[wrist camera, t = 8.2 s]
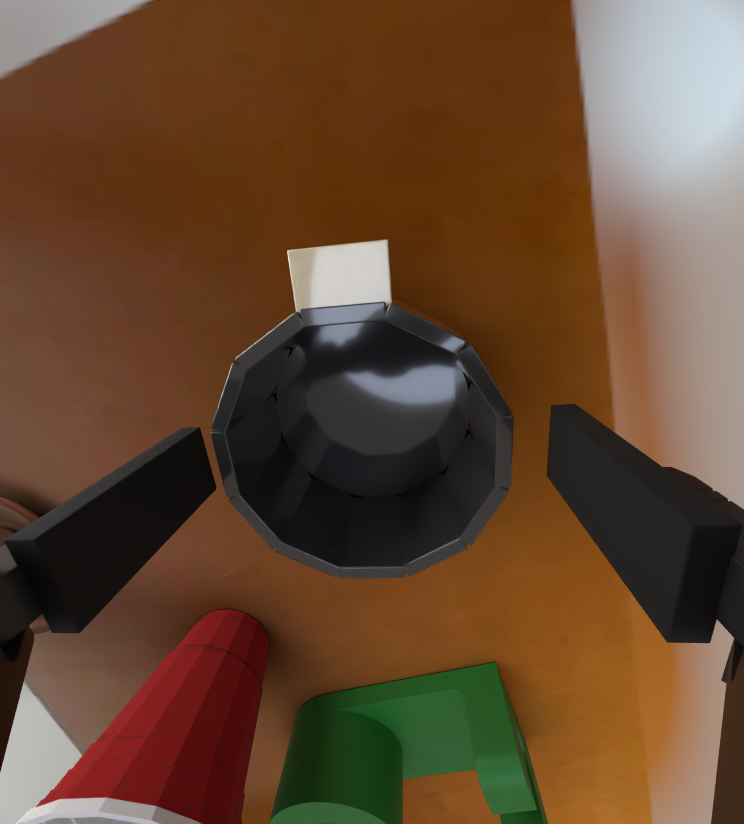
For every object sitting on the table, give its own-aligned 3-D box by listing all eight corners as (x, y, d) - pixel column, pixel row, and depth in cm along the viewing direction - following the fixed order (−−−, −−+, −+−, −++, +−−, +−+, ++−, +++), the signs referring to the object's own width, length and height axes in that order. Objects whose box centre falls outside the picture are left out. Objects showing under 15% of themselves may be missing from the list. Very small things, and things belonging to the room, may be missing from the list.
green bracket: (321, 771, 32) (301, 884, 26) (277, 703, 29) (244, 810, 23) (525, 741, 28) (559, 864, 22) (495, 662, 26) (523, 775, 20)
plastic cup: (241, 706, 30) (143, 960, 19) (139, 627, 28) (-41, 859, 16) (334, 650, 27) (286, 913, 16) (229, 557, 25) (84, 782, 14)
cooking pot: (478, 496, 20) (508, 577, 14) (288, 502, 21) (246, 579, 16) (480, 246, 16) (522, 223, 10) (244, 271, 17) (167, 262, 12)
